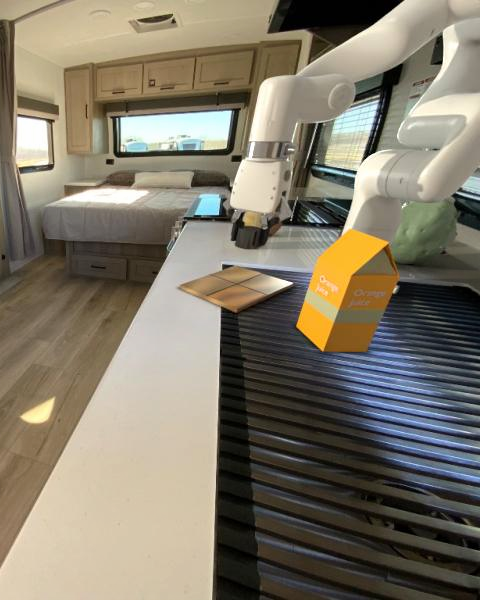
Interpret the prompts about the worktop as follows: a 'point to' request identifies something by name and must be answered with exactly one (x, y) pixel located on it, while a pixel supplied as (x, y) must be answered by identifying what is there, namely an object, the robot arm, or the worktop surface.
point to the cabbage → (424, 231)
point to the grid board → (236, 287)
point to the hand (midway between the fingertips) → (247, 242)
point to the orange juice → (348, 293)
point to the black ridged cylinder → (246, 237)
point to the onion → (275, 226)
